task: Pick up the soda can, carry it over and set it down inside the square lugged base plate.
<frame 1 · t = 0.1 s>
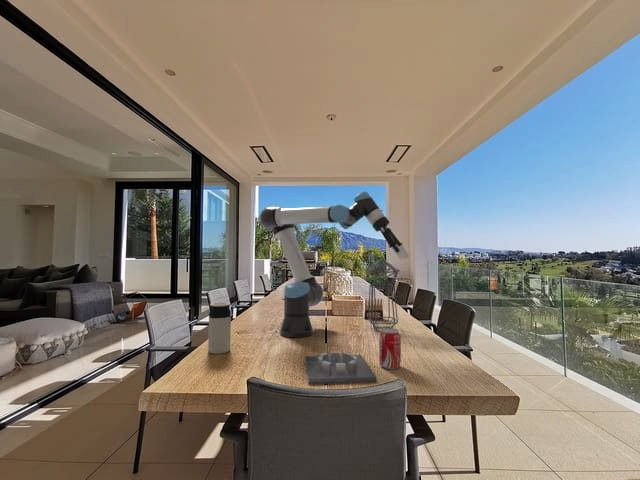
hand: (405, 258, 143), 36 cm above the table, tool tilted 35°, fingers open, 13 cm apart
soda can: (389, 367, 106), on the table
square lugged base plate: (337, 370, 102), on the table
geometric lantern: (381, 330, 157), on the table
travel mug: (219, 351, 121), on the table
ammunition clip: (373, 319, 182), on the table
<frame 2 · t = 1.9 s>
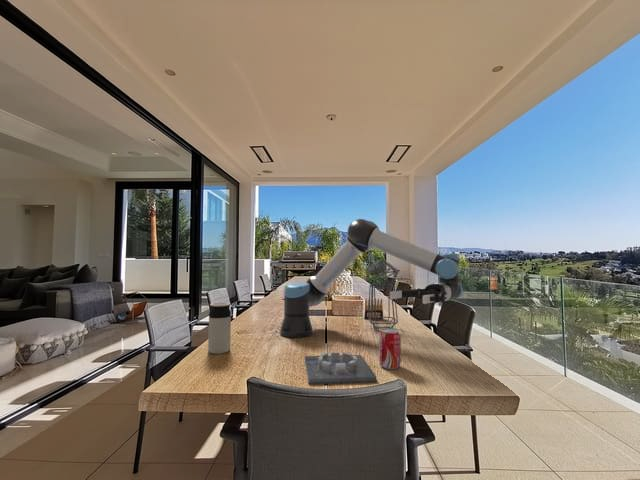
hand: (406, 297, 113), 22 cm above the table, tool horizontal, fingers open, 13 cm apart
nothing on the table moved.
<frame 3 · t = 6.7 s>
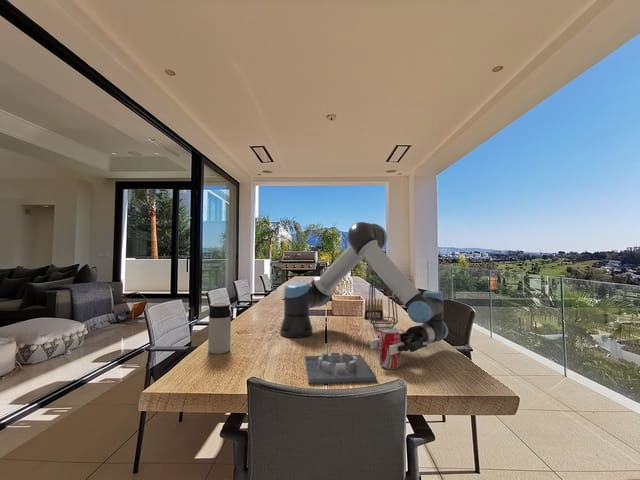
hand: (380, 347, 103), 7 cm above the table, tool horizontal, fingers closed on soda can, 7 cm apart
soda can: (389, 367, 106), on the table, touching gripper
everything else where it was.
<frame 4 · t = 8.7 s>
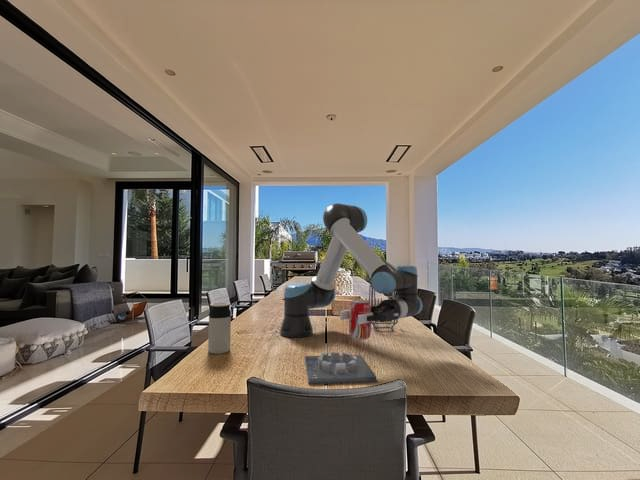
hand: (349, 317, 100), 17 cm above the table, tool horizontal, fingers closed on soda can, 7 cm apart
soda can: (359, 338, 103), point 10 cm above the table, touching gripper
everything else where it was.
when the fingers open (10 cm above the table, at t = 11.0 s): soda can drops 1 cm, resting on square lugged base plate.
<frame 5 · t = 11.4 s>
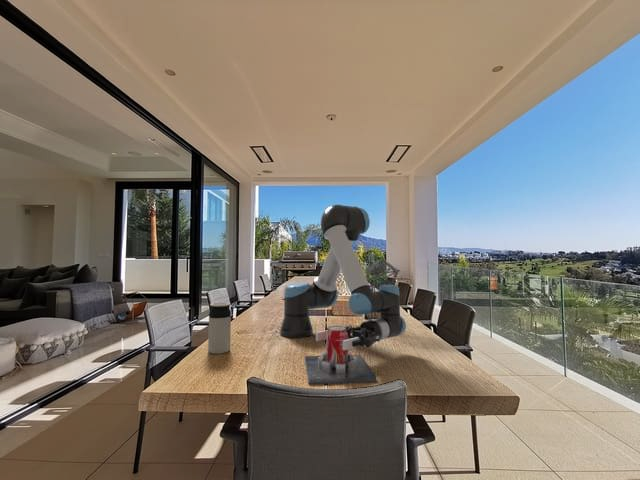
hand: (329, 340, 100), 10 cm above the table, tool horizontal, fingers open, 12 cm apart
soda can: (337, 366, 102), point 1 cm above the table, touching square lugged base plate
everything else where it was.
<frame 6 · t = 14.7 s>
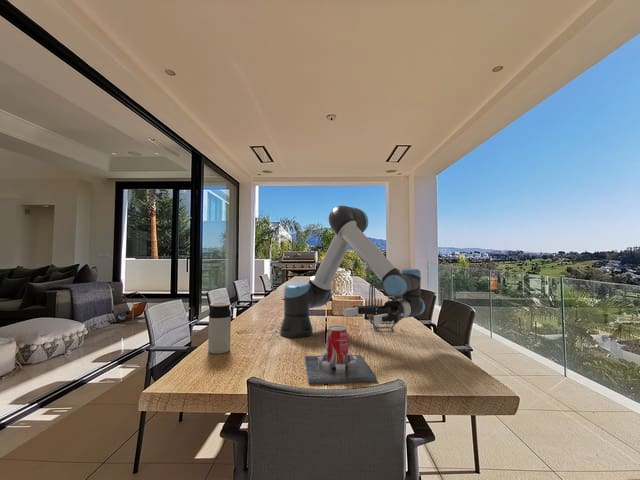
hand: (359, 316, 109), 16 cm above the table, tool horizontal, fingers open, 13 cm apart
nothing on the table moved.
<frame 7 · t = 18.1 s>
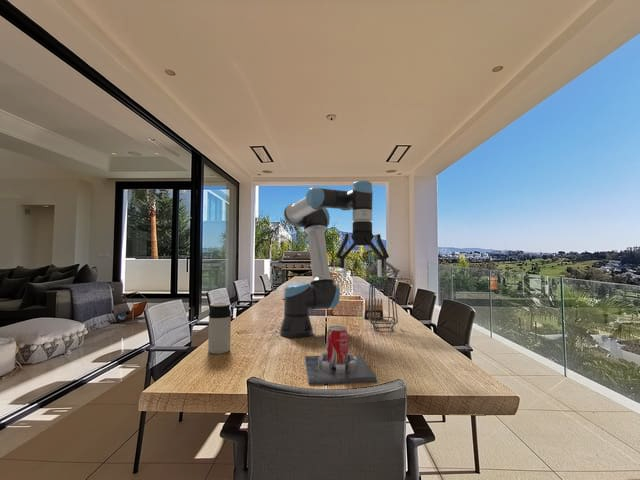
hand: (362, 276, 121), 29 cm above the table, tool pointing down, fingers open, 13 cm apart
nothing on the table moved.
at the end: soda can 0.1 cm off-centre on the square lugged base plate, point 1.3 cm above the square lugged base plate's base; soda can tilted 0°; the gripper is holding nothing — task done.
